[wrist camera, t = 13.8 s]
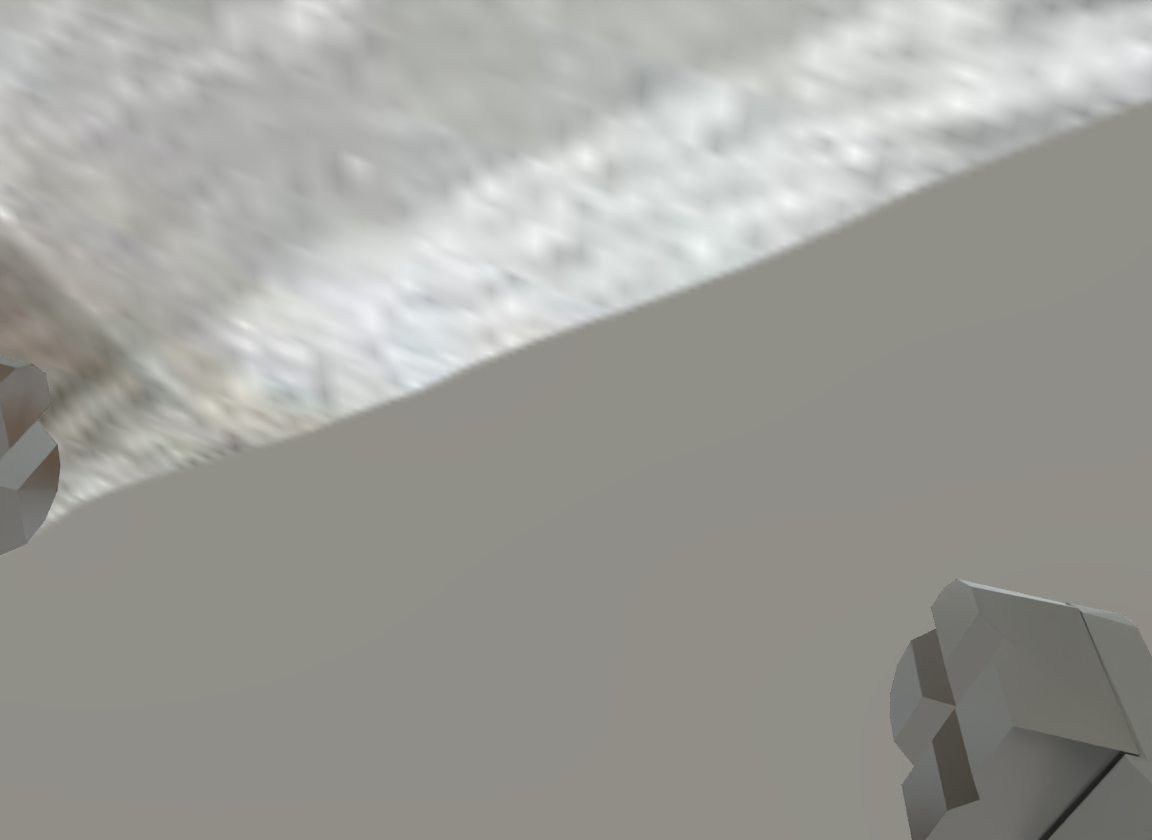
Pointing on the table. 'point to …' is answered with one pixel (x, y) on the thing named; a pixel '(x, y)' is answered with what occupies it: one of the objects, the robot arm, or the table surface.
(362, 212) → the table surface
